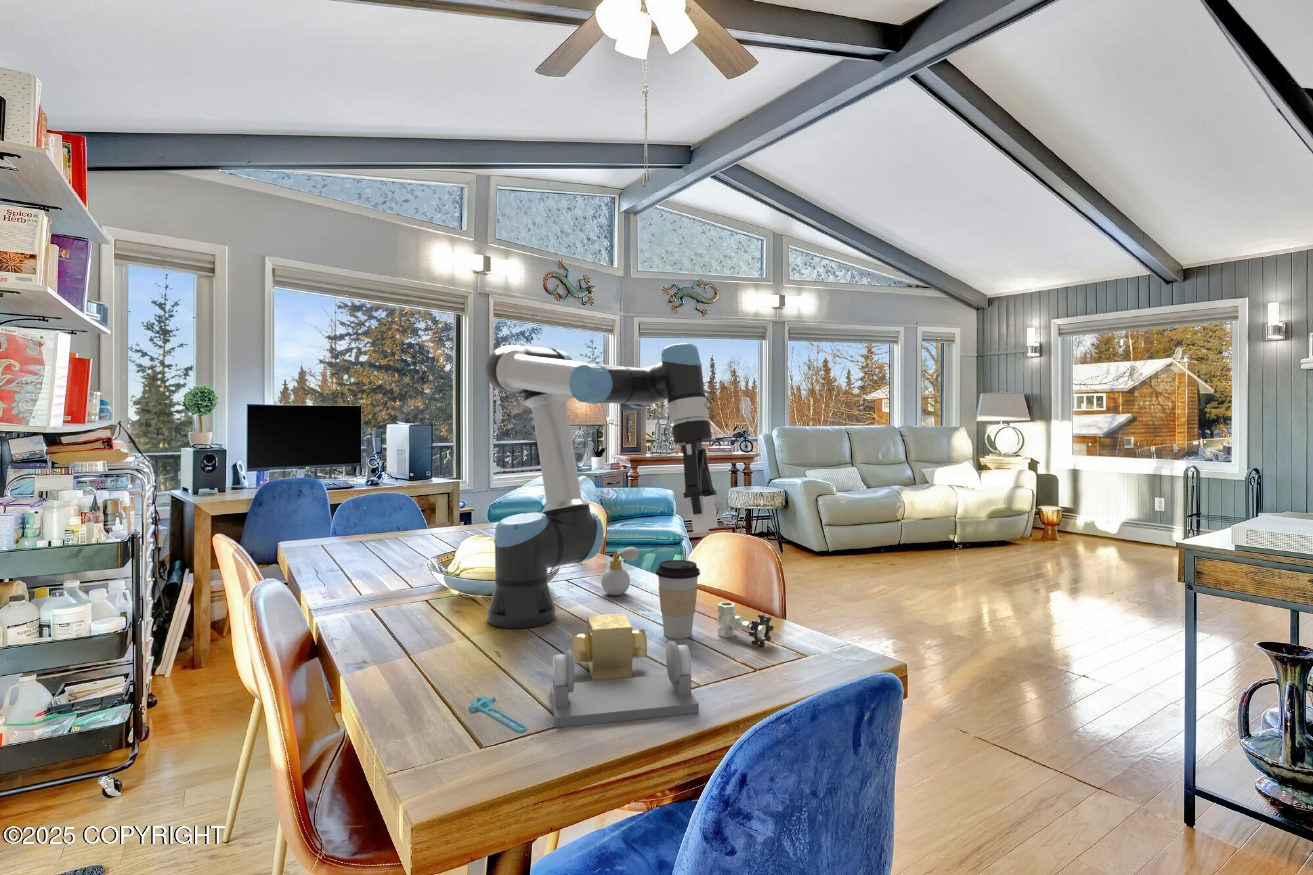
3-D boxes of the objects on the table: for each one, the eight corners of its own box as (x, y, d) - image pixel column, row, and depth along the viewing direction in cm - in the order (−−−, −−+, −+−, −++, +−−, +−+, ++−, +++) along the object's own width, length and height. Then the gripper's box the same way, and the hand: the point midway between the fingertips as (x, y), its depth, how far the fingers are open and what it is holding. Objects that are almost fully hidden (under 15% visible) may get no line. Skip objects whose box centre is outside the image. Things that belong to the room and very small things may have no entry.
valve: (708, 635, 136) (752, 651, 127) (708, 604, 136) (752, 618, 127) (729, 629, 140) (773, 643, 131) (730, 599, 140) (773, 611, 131)
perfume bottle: (595, 594, 167) (595, 548, 167) (622, 587, 174) (622, 543, 174) (614, 600, 162) (615, 552, 162) (642, 592, 169) (642, 547, 169)
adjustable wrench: (461, 702, 102) (489, 693, 106) (461, 708, 102) (489, 698, 106) (510, 732, 92) (539, 720, 96) (510, 739, 92) (539, 727, 96)
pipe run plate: (550, 693, 107) (550, 638, 107) (679, 682, 112) (679, 629, 112) (555, 727, 95) (555, 666, 95) (698, 712, 100) (698, 654, 100)
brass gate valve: (571, 664, 120) (571, 616, 119) (640, 659, 123) (640, 612, 122) (575, 682, 112) (575, 630, 112) (648, 675, 115) (648, 625, 114)
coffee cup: (686, 645, 130) (686, 571, 130) (646, 636, 135) (646, 565, 135) (707, 631, 138) (708, 562, 138) (669, 624, 143) (670, 557, 143)
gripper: (699, 411, 114) (717, 531, 112) (717, 425, 138) (732, 524, 136) (658, 418, 116) (675, 537, 113) (683, 431, 140) (697, 529, 137)
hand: (706, 530), depth 124 cm, fingers open, 13 cm apart
